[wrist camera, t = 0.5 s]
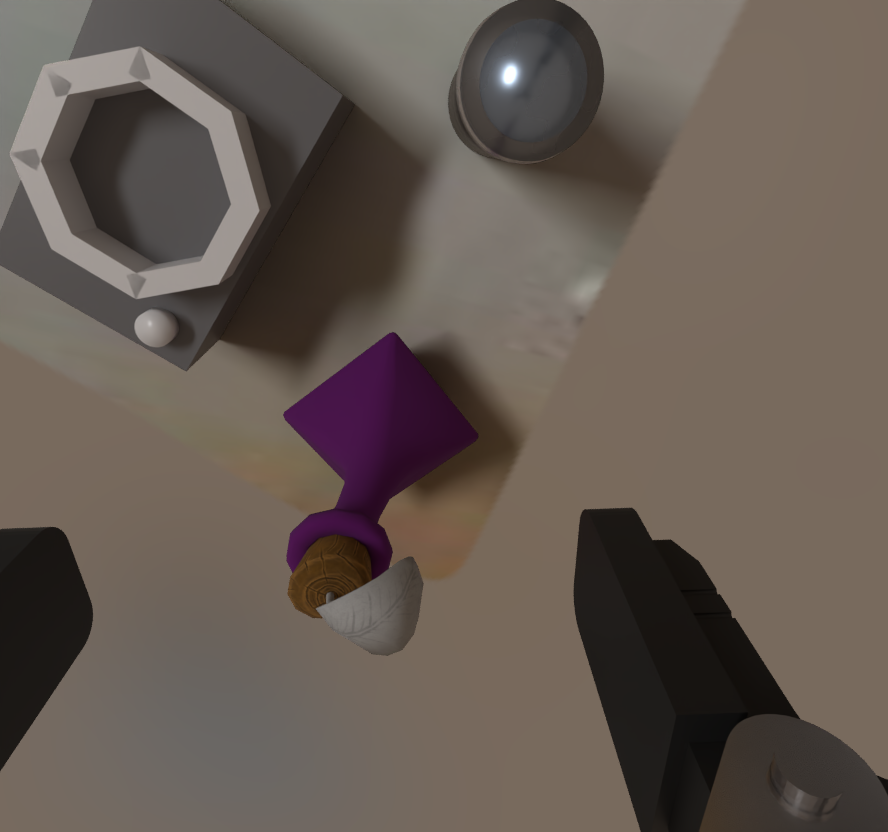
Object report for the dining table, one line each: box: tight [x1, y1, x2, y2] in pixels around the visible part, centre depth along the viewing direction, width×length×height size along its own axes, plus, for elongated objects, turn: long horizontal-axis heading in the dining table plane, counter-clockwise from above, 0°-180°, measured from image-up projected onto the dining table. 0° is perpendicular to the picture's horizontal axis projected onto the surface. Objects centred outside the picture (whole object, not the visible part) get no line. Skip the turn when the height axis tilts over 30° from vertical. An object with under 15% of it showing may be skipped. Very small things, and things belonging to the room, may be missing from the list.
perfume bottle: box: [283, 332, 478, 656], centre depth 26 cm, size 8×8×18 cm
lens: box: [448, 0, 604, 164], centre depth 24 cm, size 5×5×9 cm
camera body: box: [0, 0, 355, 371], centre depth 25 cm, size 14×9×7 cm, turn 145°
